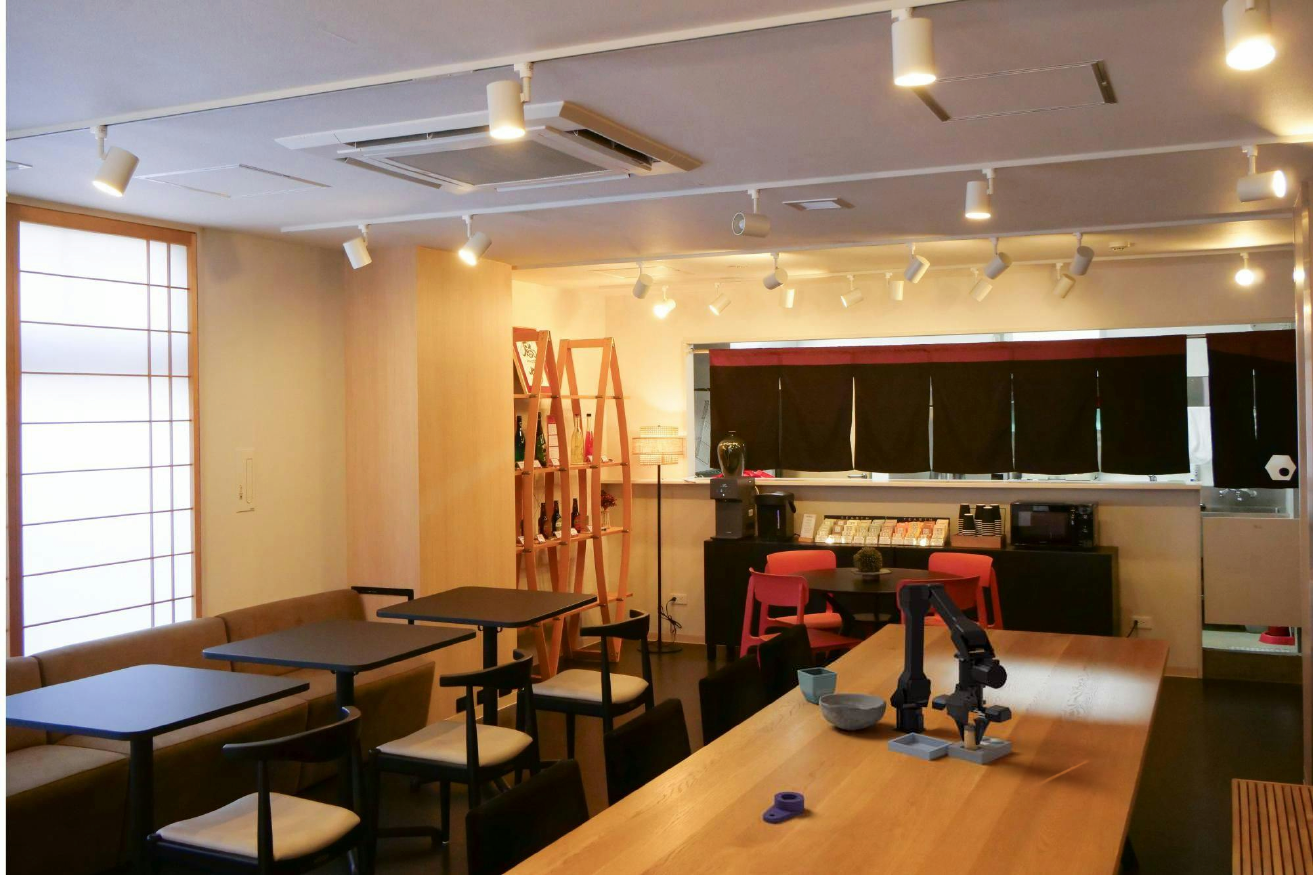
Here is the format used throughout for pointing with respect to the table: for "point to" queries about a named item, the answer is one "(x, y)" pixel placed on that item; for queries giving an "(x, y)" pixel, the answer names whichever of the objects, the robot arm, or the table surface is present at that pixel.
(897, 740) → the parts tray
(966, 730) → the cylinder
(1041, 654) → the table surface
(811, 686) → the flower pot
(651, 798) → the table surface
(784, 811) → the lever
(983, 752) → the panel
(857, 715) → the bowl
